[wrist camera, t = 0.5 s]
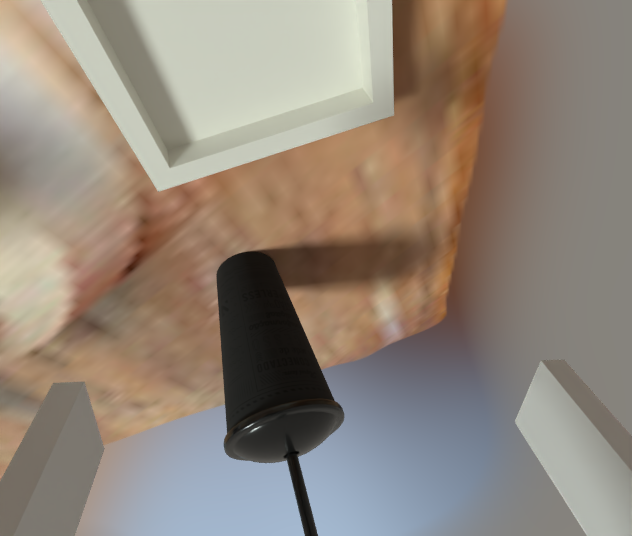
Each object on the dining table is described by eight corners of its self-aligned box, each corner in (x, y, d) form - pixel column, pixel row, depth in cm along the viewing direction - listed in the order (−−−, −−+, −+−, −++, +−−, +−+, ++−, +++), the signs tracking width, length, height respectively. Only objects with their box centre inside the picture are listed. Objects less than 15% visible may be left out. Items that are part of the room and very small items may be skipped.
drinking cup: (273, 224, 32) (371, 520, 20) (302, 279, 38) (390, 531, 26) (179, 263, 32) (218, 579, 20) (223, 311, 38) (273, 576, 26)
